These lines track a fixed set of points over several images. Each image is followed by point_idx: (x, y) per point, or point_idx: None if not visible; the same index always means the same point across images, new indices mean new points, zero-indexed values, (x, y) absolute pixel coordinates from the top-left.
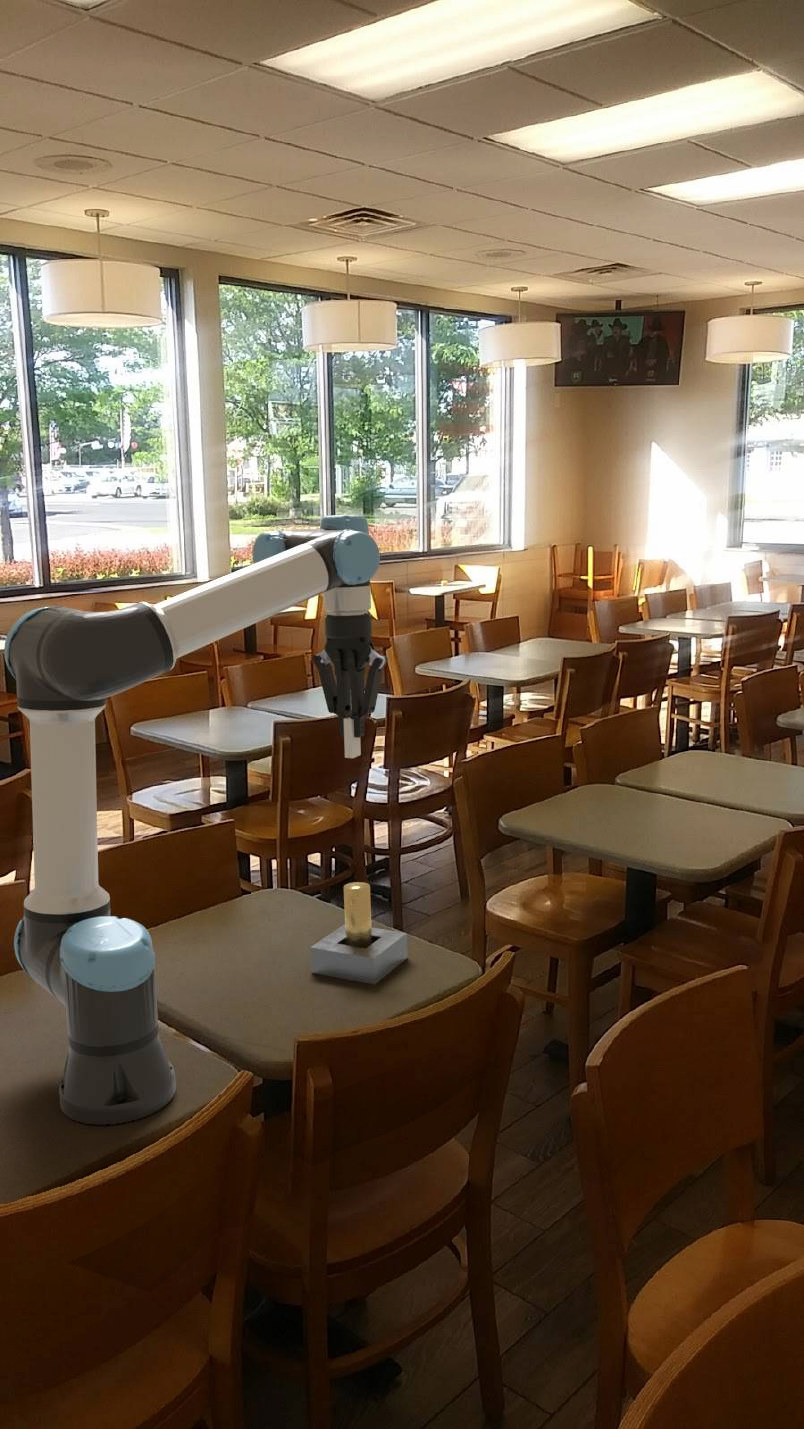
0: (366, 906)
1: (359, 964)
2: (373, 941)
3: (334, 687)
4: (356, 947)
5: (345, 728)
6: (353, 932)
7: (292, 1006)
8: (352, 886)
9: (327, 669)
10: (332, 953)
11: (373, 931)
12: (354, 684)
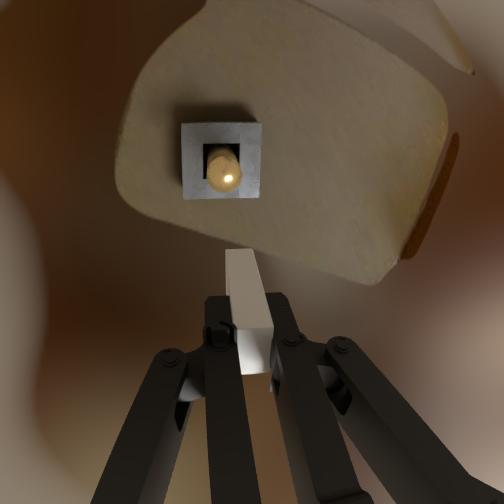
0: (207, 166)
1: (199, 122)
2: None
3: (365, 442)
4: (213, 142)
5: (259, 301)
6: (220, 149)
7: (236, 51)
8: (230, 173)
9: (422, 499)
10: (233, 122)
11: None
12: (228, 474)
